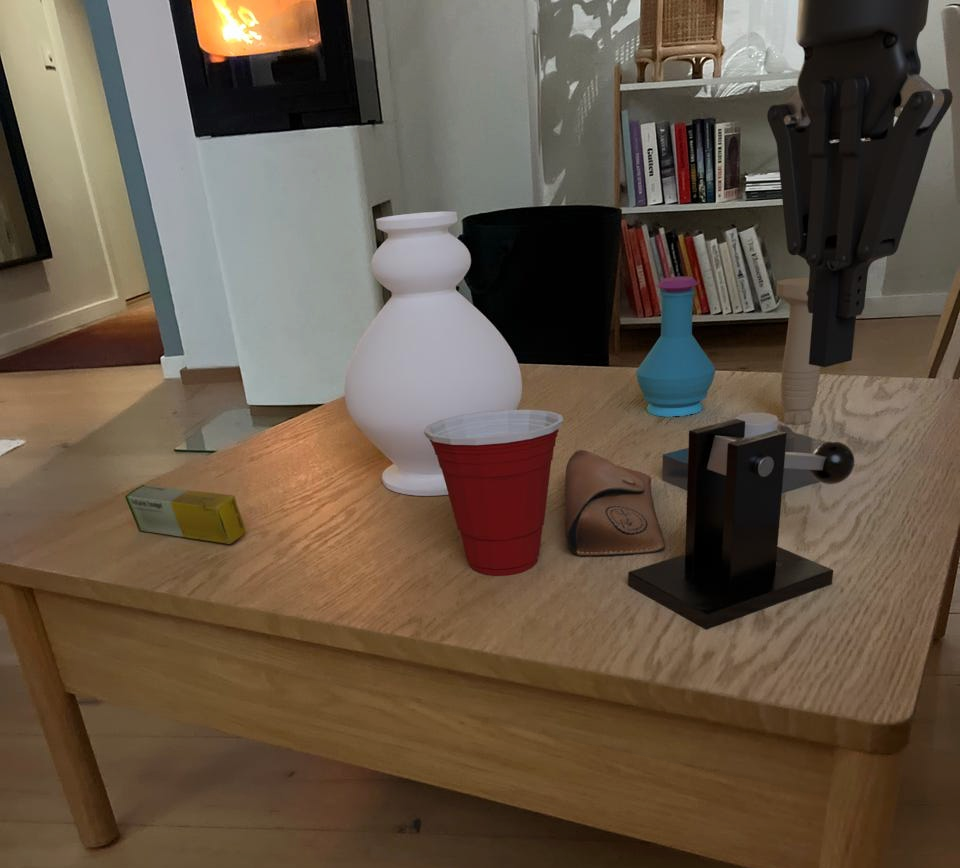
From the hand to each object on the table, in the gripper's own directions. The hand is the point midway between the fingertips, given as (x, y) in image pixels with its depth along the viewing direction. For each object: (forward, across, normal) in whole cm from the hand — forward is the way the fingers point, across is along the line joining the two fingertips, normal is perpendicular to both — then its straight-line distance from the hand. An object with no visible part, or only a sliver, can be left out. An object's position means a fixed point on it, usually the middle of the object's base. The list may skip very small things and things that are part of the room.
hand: (830, 361), depth 68 cm
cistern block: (+15, -16, +9) cm, 23 cm away
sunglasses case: (+15, -16, -8) cm, 23 cm away
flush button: (+11, -16, +9) cm, 21 cm away
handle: (+15, -26, +25) cm, 40 cm away
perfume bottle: (+15, -40, +19) cm, 47 cm away
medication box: (+15, -38, -41) cm, 58 cm away
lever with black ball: (+8, +1, -5) cm, 9 cm away
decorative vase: (+15, -37, -14) cm, 43 cm away
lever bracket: (+15, +1, -10) cm, 18 cm away
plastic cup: (+15, -14, -20) cm, 29 cm away
